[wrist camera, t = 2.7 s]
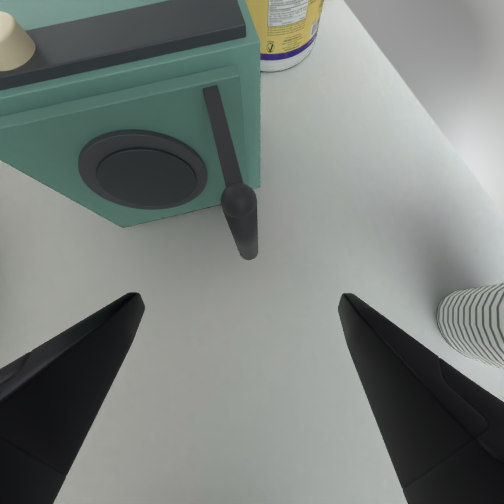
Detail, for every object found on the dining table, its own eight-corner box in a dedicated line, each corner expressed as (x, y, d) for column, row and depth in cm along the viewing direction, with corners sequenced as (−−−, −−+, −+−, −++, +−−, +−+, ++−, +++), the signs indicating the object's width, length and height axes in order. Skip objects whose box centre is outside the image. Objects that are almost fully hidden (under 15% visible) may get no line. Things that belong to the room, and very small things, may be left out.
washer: (260, 187, 23) (260, -1, 9) (119, 220, 22) (-116, 80, 8) (236, 106, 26) (209, -128, 12) (112, 134, 25) (-68, -74, 11)
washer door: (267, 261, 20) (280, 199, 8) (127, 296, 19) (-75, 285, 8) (248, 191, 22) (236, 58, 10) (121, 221, 22) (-46, 120, 10)
